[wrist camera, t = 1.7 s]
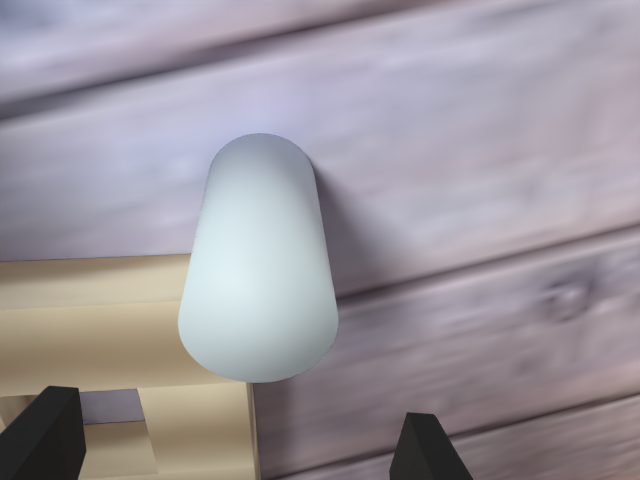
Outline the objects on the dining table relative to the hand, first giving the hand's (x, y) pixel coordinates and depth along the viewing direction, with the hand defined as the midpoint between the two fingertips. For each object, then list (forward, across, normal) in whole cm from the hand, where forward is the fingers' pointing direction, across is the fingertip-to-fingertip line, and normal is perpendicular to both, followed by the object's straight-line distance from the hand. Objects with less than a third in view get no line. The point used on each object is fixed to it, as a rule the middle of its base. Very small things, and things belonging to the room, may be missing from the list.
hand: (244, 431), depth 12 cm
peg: (+10, 0, -1) cm, 10 cm away
